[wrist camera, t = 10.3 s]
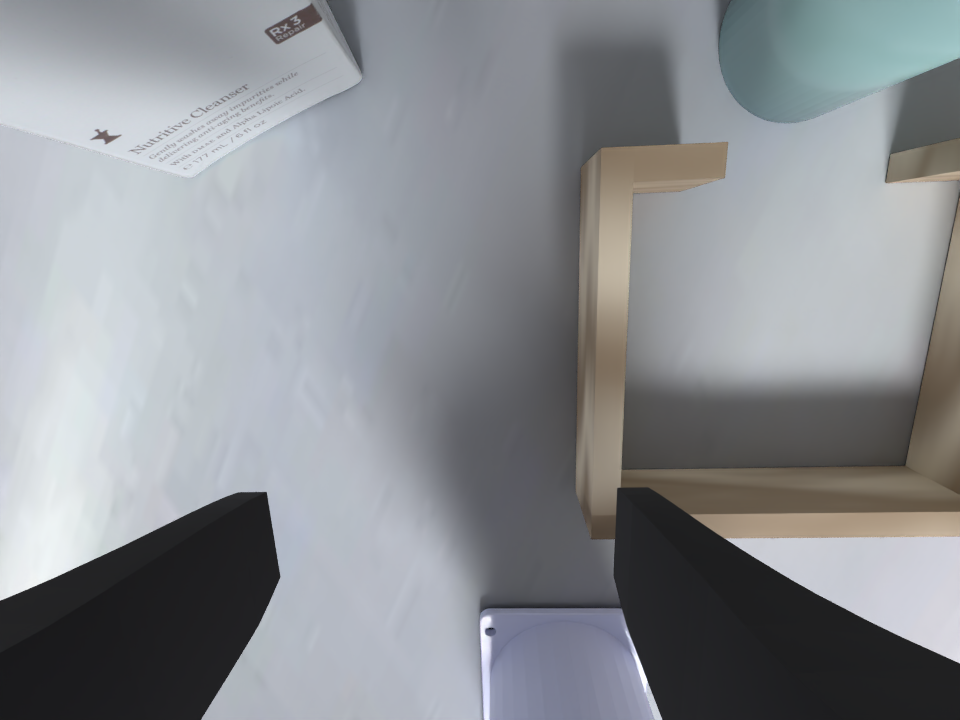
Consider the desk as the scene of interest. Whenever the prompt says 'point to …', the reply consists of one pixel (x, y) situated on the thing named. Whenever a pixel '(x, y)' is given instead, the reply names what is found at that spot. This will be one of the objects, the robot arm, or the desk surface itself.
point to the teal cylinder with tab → (829, 51)
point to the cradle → (753, 491)
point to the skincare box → (166, 73)
